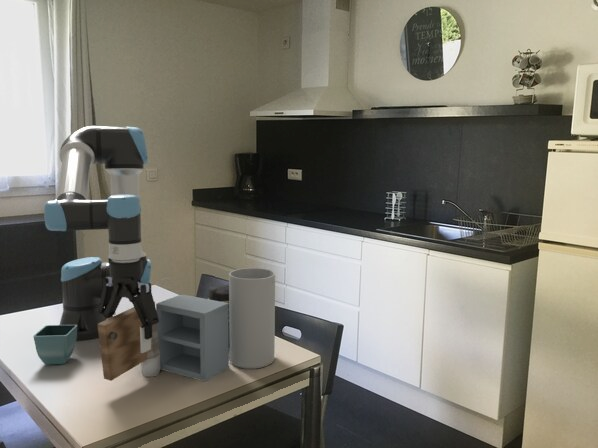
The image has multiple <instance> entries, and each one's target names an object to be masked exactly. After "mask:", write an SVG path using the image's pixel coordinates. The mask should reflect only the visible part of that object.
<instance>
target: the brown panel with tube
mask: <svg viewBox="0 0 598 448" xmlns="http://www.w3.org/2000/svg"><path fill="white" fill-rule="evenodd" d="M154 304H155V305H156V302H155V301H154ZM113 316H114V317H111V318H109V319H107V320H105V321H103V322H101V323H99V324H97V325H98V333H99V337H98V340H99V347H100V350H99V351H100V357H101V364H102V374H103V379H104V380H107V381H111V382H112V381H113V380H115V379H116V378H119V377H120V376H122V375H123V374H125V373H127V372H128V371H130V370H132V369H133V368H135V367H136V366H139V365H140V364H142V362H143V361H145V360H147V359H151V358H155V357H157V356H158V355H160V353H159V342H158V331H157V323H156V324H154V325H152V338H151V350H149V351H146V352H144V353H141V347H140V326H142V323H141V321H140V319H139V316H138V314H137V312H136V310H135V308H134V306H133V307H131V308H129V309H127V310H125V311H122V312H121V313H118V314H115V315H113ZM146 321H147V319H146Z"/></svg>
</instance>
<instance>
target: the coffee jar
mask: <svg viewBox="0 0 598 448" xmlns="http://www.w3.org/2000/svg"><path fill="white" fill-rule="evenodd" d="M207 299H209V300H214V301H220V302H225V303H228V329H229V284H222V285H215V286H209V288H208V293H207ZM229 349H230V341H229Z"/></svg>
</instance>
